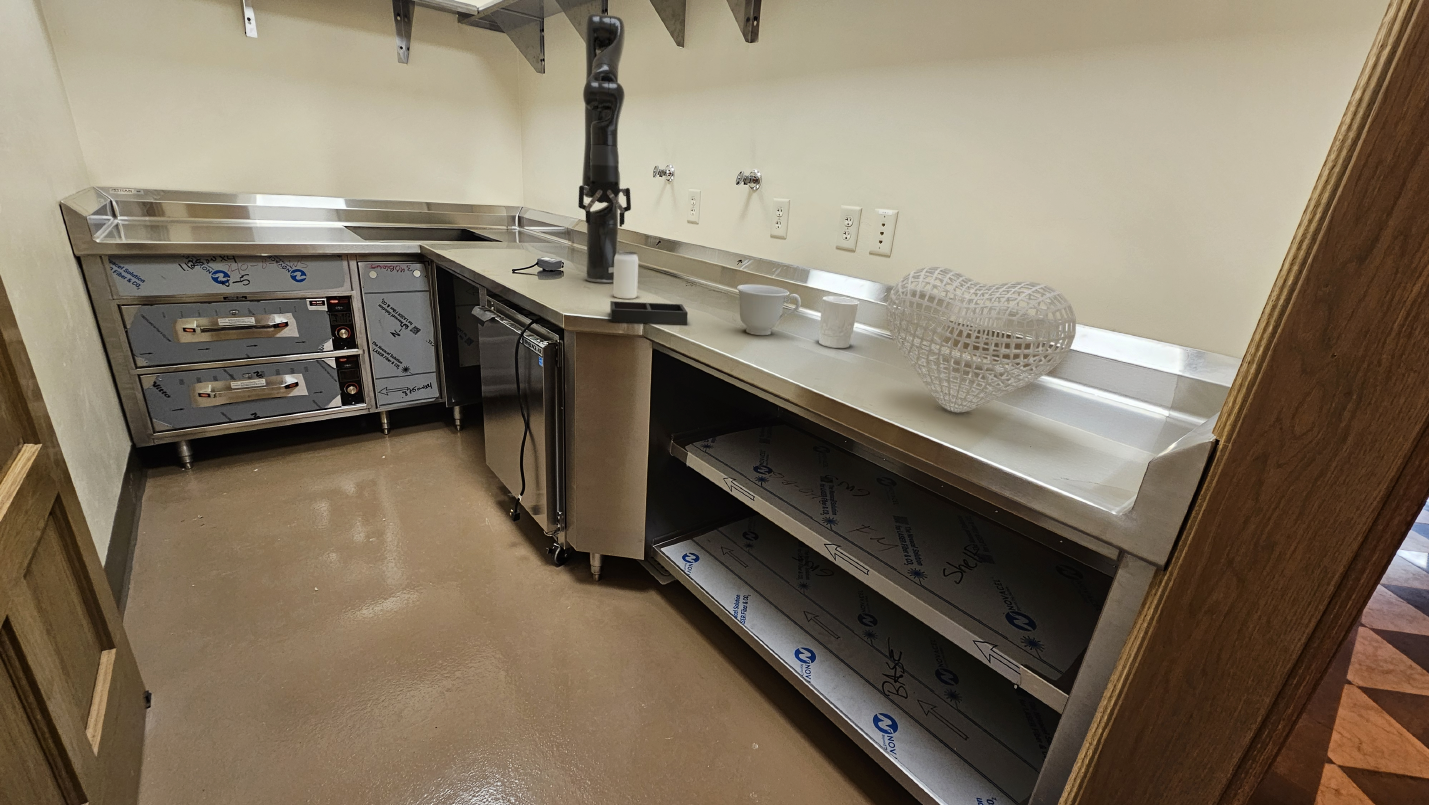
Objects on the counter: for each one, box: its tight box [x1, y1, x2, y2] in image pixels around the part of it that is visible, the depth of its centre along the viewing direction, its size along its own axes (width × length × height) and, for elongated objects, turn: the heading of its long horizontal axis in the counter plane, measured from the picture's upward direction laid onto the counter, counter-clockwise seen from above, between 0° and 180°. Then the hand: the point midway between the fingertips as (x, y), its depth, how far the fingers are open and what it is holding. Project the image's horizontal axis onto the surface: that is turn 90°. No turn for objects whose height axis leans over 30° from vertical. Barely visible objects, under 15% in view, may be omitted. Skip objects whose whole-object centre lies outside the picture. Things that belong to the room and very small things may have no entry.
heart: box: [885, 266, 1077, 413], centre depth 96 cm, size 28×16×22 cm, turn 46°
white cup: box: [818, 295, 860, 349], centre depth 134 cm, size 8×8×10 cm
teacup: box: [736, 283, 802, 336], centre depth 138 cm, size 12×15×10 cm
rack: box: [609, 300, 689, 326], centre depth 144 cm, size 9×17×3 cm, turn 101°
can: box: [612, 250, 639, 300], centre depth 165 cm, size 6×6×12 cm
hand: (605, 225), depth 170 cm, fingers open, 8 cm apart
